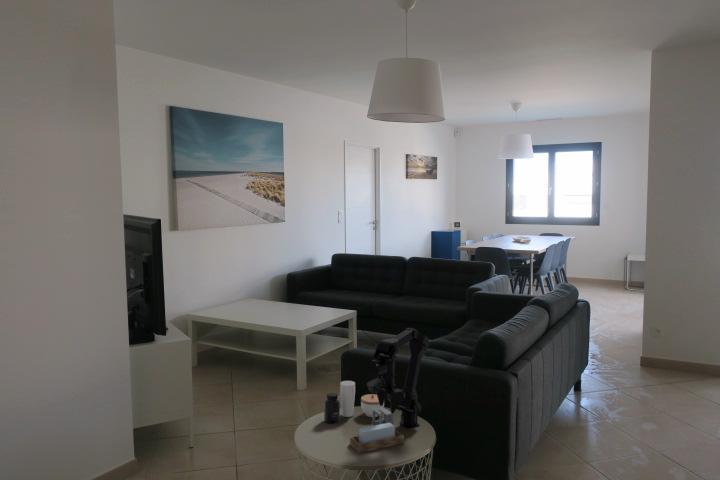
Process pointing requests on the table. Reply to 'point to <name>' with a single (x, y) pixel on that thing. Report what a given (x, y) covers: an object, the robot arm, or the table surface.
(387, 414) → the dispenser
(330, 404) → the supplement bottle
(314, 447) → the table surface
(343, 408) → the white cylinder
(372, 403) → the lidded jar
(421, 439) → the table surface
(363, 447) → the tray
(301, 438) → the table surface
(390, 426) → the pale blue rectangular pillar
